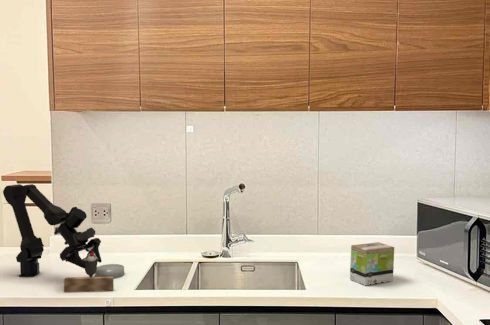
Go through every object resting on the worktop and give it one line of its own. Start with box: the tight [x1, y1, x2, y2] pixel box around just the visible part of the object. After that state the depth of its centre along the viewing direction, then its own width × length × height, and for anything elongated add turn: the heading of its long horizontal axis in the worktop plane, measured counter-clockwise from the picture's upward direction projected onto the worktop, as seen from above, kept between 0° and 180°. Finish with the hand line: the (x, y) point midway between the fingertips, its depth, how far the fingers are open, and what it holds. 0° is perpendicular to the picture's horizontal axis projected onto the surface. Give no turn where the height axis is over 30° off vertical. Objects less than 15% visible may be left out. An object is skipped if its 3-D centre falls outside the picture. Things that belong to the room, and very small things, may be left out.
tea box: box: [349, 241, 395, 286], centre depth 196 cm, size 15×10×15 cm, turn 117°
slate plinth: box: [94, 263, 125, 280], centre depth 202 cm, size 12×12×3 cm
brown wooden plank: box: [63, 276, 115, 293], centre depth 182 cm, size 18×2×5 cm, turn 95°
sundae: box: [81, 249, 99, 277], centre depth 190 cm, size 7×7×15 cm
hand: (93, 264), depth 189 cm, fingers open, 9 cm apart
